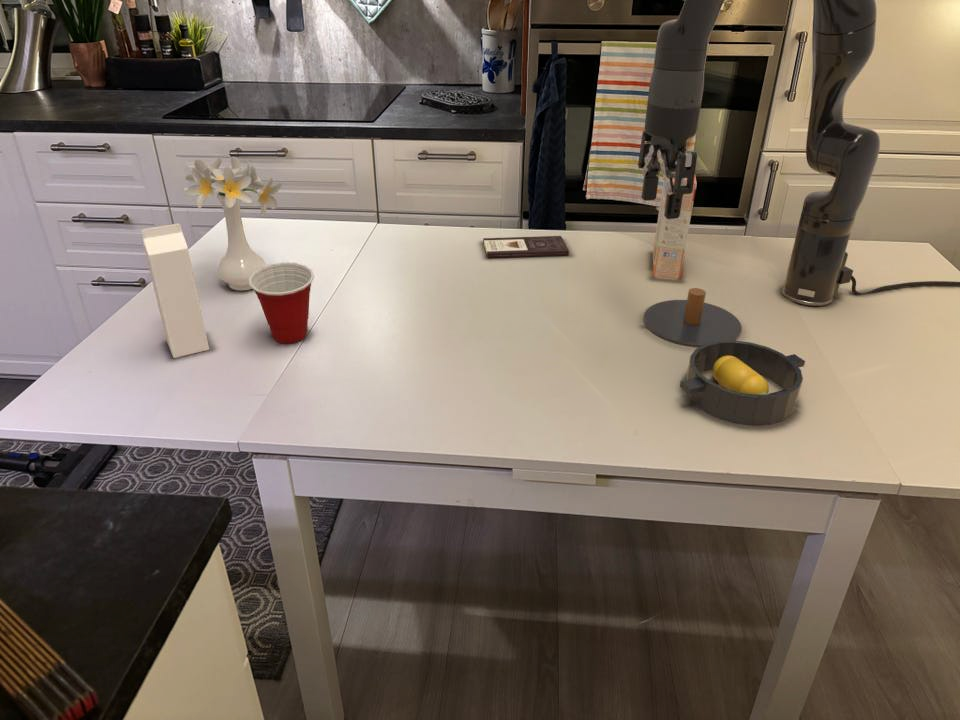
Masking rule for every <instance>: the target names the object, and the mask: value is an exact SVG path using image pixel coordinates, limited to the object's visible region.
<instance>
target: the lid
mask: <svg viewBox="0 0 960 720" xmlns="http://www.w3.org/2000/svg"><path fill="white" fill-rule="evenodd" d="M706 294H707V292H706V290H704V289H702V288H699V287H693V288H692V287H691V288H689V289H688V292H687V298H686V299H671V300H664V301H660V302H656V303H655V304H652V305H651V306H649V307H648V308H646V310H645V311H644V314H643V324H644V326H645V327H646V328H647V329H648V330H649V331H650V332H651V333H652V334H654V335H655V336H657V337H659V338H661V339H663V340H665V341H668V342H671V343H673V344H677V345H681V346H686V347H695V348H699V347H700V346H702V345H704V344H707V343H711V342H716V341H732V340H734V341H737V339H738V338H739V337H740V336H741V333H742V329H743V328H742V324H741V322H740V320H739V319H738V318H737V316H735V315H734V314H733V313H731V312H730V311H728V310H727V309H725V308H722V307H720V306H717V305H715V304H712V303H708V302H705V300H706Z"/></svg>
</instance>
